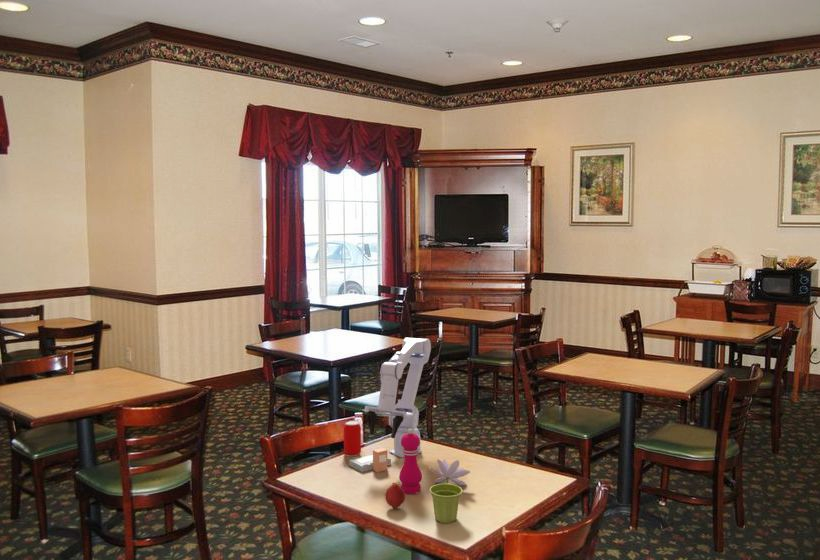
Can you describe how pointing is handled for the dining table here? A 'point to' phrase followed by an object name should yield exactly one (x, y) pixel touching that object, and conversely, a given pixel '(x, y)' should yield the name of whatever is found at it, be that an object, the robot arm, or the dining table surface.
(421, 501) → the dining table surface
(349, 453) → the beverage can
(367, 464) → the pad
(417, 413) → the robot arm
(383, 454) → the stub tab
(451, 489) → the plant pot
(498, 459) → the dining table surface
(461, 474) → the water lily
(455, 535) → the dining table surface
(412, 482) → the pepper mill
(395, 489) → the onion
